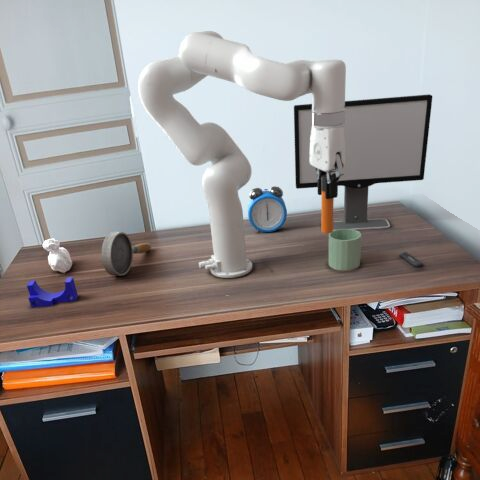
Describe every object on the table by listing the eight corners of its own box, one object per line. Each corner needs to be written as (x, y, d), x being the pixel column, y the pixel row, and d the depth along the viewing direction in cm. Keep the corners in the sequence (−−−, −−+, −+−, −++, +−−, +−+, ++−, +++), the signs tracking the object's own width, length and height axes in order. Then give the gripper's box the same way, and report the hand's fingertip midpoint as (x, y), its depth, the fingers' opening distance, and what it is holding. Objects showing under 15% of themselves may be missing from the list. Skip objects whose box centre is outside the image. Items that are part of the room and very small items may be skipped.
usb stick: (398, 257, 149) (398, 252, 148) (406, 255, 149) (406, 251, 148) (415, 270, 141) (415, 265, 140) (423, 268, 141) (424, 263, 140)
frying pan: (142, 226, 167) (99, 233, 144) (151, 227, 166) (109, 234, 143) (144, 265, 171) (102, 278, 148) (152, 266, 170) (111, 279, 147)
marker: (324, 234, 131) (325, 178, 124) (318, 230, 134) (318, 175, 126) (335, 231, 132) (336, 176, 124) (329, 228, 134) (330, 173, 127)
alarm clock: (249, 234, 174) (246, 191, 166) (249, 228, 179) (246, 186, 171) (287, 231, 173) (286, 188, 166) (286, 225, 179) (284, 183, 171)
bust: (66, 267, 168) (38, 244, 163) (81, 252, 166) (53, 228, 161) (59, 283, 157) (28, 259, 153) (75, 267, 155) (44, 242, 150)
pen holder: (338, 274, 142) (338, 243, 137) (322, 262, 150) (322, 232, 145) (366, 267, 144) (367, 236, 140) (349, 256, 152) (350, 226, 147)
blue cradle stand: (31, 307, 140) (24, 288, 137) (36, 299, 144) (30, 280, 141) (74, 303, 140) (68, 284, 137) (78, 296, 144) (72, 277, 141)
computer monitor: (297, 233, 171) (294, 107, 150) (295, 224, 178) (292, 103, 158) (420, 226, 168) (434, 96, 148) (414, 217, 175) (426, 92, 155)
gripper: (298, 116, 124) (299, 190, 134) (331, 126, 111) (330, 207, 120) (325, 112, 126) (324, 185, 136) (361, 121, 113) (357, 201, 122)
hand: (327, 195), depth 128 cm, fingers closed on marker, 3 cm apart
